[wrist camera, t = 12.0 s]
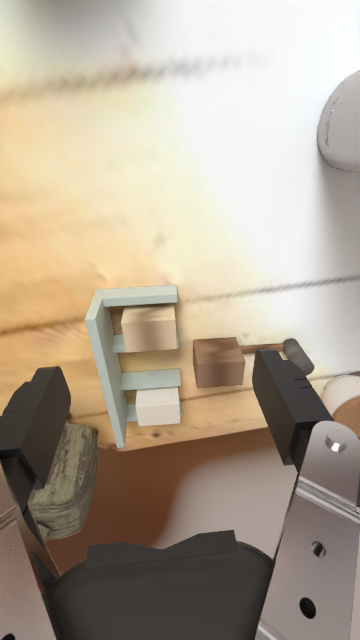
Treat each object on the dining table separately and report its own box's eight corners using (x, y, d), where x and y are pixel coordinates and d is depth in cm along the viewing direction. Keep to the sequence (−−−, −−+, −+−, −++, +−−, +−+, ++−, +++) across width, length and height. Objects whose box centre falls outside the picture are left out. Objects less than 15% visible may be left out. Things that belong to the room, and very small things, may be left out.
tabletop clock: (28, 431, 54) (-52, 613, 33) (23, 399, 50) (-74, 587, 29) (104, 434, 57) (73, 607, 36) (106, 404, 52) (72, 582, 31)
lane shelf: (175, 284, 40) (180, 313, 33) (180, 404, 53) (184, 442, 47) (96, 289, 39) (84, 319, 33) (122, 408, 53) (117, 447, 46)
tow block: (300, 333, 46) (317, 356, 41) (294, 355, 49) (310, 380, 44) (193, 339, 45) (197, 364, 40) (192, 362, 48) (197, 388, 43)
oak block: (172, 297, 41) (175, 319, 36) (174, 325, 44) (176, 348, 39) (125, 301, 41) (121, 323, 36) (129, 328, 43) (126, 352, 38)
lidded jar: (320, 366, 51) (351, 407, 43) (376, 363, 52) (416, 403, 44) (306, 406, 57) (331, 449, 49) (357, 403, 57) (389, 444, 49)
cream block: (176, 377, 50) (179, 403, 45) (177, 395, 52) (180, 423, 47) (137, 380, 49) (135, 407, 44) (140, 398, 52) (138, 426, 47)
